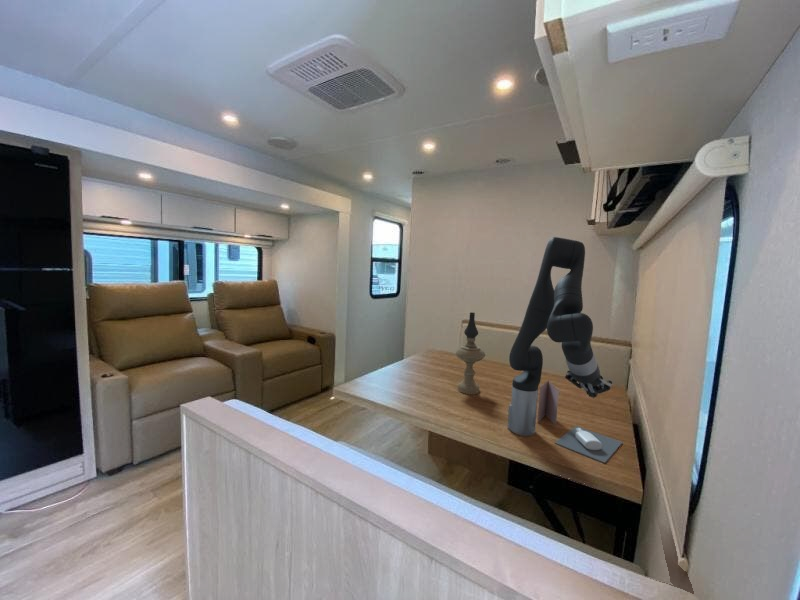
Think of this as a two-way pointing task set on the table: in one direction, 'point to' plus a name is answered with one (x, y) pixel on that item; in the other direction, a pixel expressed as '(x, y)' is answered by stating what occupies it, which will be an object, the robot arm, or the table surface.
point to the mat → (600, 455)
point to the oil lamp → (470, 358)
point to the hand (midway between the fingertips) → (592, 394)
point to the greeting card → (548, 402)
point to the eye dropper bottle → (588, 439)
